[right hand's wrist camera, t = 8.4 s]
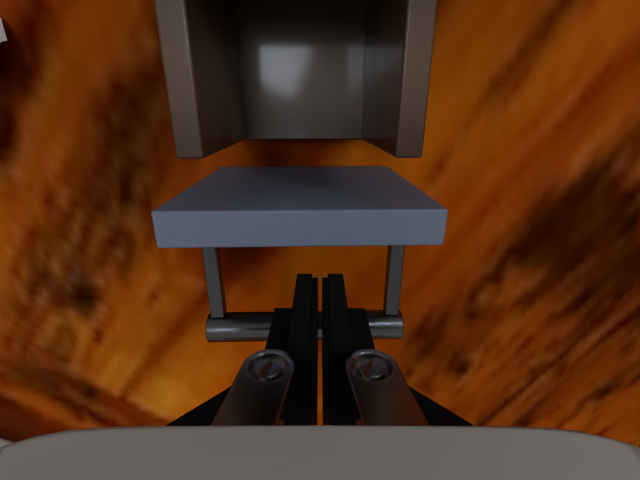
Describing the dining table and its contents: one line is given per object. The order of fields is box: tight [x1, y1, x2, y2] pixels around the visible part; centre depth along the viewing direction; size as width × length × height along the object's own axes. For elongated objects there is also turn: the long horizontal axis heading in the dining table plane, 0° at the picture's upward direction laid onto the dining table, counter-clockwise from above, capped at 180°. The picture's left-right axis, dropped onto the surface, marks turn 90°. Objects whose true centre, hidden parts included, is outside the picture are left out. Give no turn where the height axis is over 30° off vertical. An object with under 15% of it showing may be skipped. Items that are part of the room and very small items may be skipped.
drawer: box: [152, 0, 448, 342], centre depth 14 cm, size 18×9×9 cm, turn 0°
